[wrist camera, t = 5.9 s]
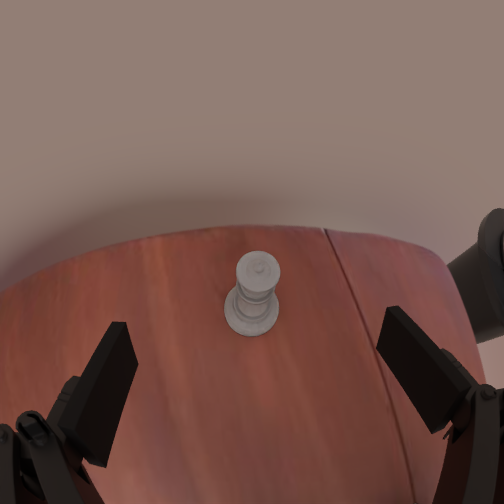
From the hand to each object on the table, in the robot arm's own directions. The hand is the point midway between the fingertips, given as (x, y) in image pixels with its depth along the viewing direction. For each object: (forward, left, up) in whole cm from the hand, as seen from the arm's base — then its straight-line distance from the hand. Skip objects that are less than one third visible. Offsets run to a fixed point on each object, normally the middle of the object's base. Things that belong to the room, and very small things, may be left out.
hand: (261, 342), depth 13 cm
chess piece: (+2, -3, -9) cm, 10 cm away
